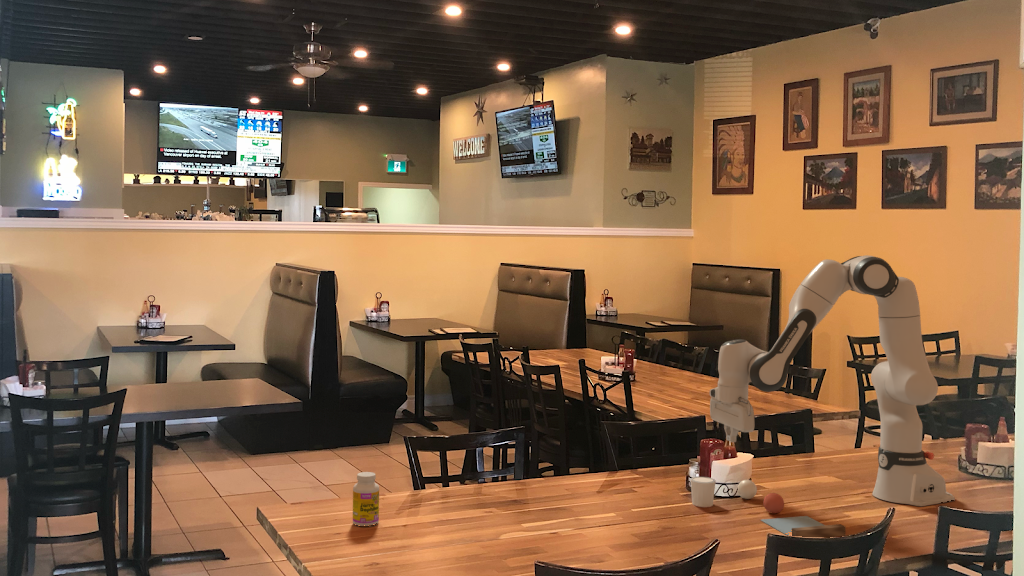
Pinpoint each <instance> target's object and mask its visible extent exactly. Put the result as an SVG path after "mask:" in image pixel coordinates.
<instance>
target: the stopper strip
mask: <svg viewBox="0 0 1024 576" xmlns="http://www.w3.org/2000/svg"><path fill="white" fill-rule="evenodd" d="M792 536H802V537H833V538H836V537H835V536H844V537H846V525H843V524H841V523H840V524H839V523H838V524H824V526H812V527H800V528H792Z"/></svg>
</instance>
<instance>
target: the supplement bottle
mask: <svg viewBox="0 0 1024 576" xmlns="http://www.w3.org/2000/svg"><path fill="white" fill-rule="evenodd" d="M376 476H377V475H376V472H370V471H363V472H358V473H357V474H356V480H357V483H355V484H354V485H353V486H352V523H354V524H356V525H360V526H364V525H365V526H368V525H373V524H376V523H377V524H379V522H380V521H379V518H380V485H379V484H378V483H376V481H375V480H376ZM354 524H353V525H354ZM377 524H376V525H377ZM356 525H355V526H356Z"/></svg>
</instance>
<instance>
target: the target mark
mask: <svg viewBox="0 0 1024 576" xmlns="http://www.w3.org/2000/svg"><path fill="white" fill-rule="evenodd" d="M760 522H762V523H763V524H766V525H768V526H770V528H773V529H774V530H776V531H778V532H779V533H780V532H781V533H782V534H783V535H786V536H787V535H789V533H788V532H792V531H791V530H792V528H800V527H812V526H824V525H825V524H824V523H822V522H819V521H818V520H815V519H813V518H812V517H809V516H808V515H804V516H803V515H800V516H788V517H776V518H762V519H760ZM785 533H788V534H785Z"/></svg>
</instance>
